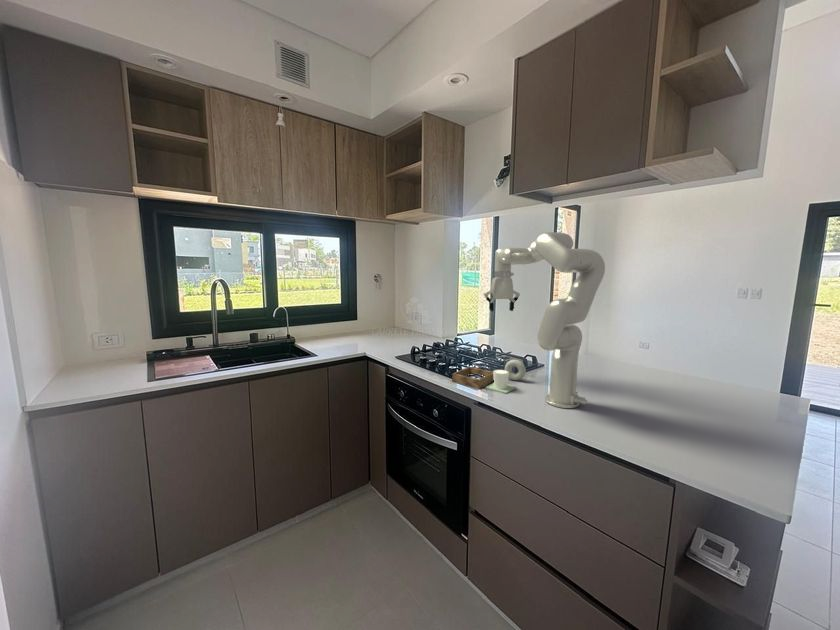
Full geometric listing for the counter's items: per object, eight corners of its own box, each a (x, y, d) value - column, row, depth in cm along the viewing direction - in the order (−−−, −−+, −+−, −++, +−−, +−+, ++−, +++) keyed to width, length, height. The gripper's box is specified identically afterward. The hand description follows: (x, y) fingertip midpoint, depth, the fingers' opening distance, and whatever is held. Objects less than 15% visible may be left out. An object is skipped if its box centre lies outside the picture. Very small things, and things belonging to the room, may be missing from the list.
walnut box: (495, 380, 160) (495, 372, 159) (479, 389, 149) (479, 380, 148) (468, 374, 169) (469, 366, 169) (452, 381, 158) (452, 373, 158)
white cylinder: (496, 383, 155) (497, 368, 154) (511, 386, 150) (511, 371, 149) (489, 387, 149) (490, 371, 148) (504, 390, 145) (504, 375, 144)
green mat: (516, 387, 151) (516, 386, 151) (506, 393, 143) (506, 392, 143) (496, 382, 157) (496, 381, 157) (485, 388, 150) (485, 387, 149)
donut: (526, 380, 159) (527, 360, 158) (524, 383, 156) (525, 362, 155) (505, 377, 165) (506, 357, 163) (503, 379, 162) (503, 359, 160)
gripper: (517, 275, 165) (516, 309, 168) (482, 275, 164) (481, 310, 166) (523, 275, 158) (521, 311, 160) (487, 275, 157) (486, 312, 159)
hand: (501, 310), depth 163 cm, fingers open, 9 cm apart
